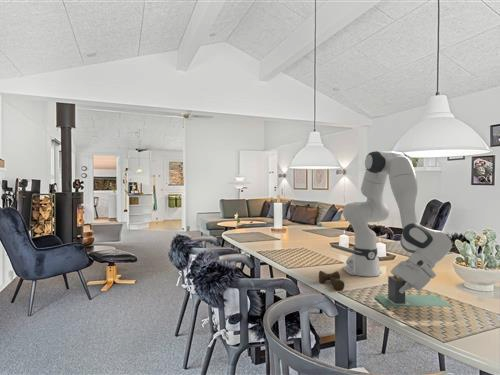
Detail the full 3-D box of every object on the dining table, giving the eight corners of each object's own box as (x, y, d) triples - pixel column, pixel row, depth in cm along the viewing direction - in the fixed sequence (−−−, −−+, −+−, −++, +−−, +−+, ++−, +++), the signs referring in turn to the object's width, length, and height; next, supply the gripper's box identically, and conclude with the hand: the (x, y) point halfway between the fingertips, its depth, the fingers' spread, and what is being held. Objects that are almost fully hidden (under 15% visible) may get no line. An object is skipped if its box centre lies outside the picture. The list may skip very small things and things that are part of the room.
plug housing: (388, 297, 142) (388, 273, 142) (397, 297, 142) (397, 273, 142) (395, 303, 135) (395, 278, 135) (405, 303, 135) (405, 278, 135)
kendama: (329, 292, 155) (315, 279, 175) (349, 292, 156) (333, 279, 176) (329, 279, 155) (316, 267, 175) (350, 279, 156) (334, 267, 176)
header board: (374, 298, 145) (374, 295, 145) (434, 298, 145) (434, 294, 145) (387, 310, 132) (387, 306, 132) (453, 309, 132) (453, 305, 132)
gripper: (401, 254, 149) (379, 276, 149) (427, 265, 128) (401, 291, 128) (411, 264, 149) (389, 286, 149) (438, 276, 129) (412, 302, 128)
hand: (394, 288), depth 138 cm, fingers closed on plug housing, 7 cm apart
